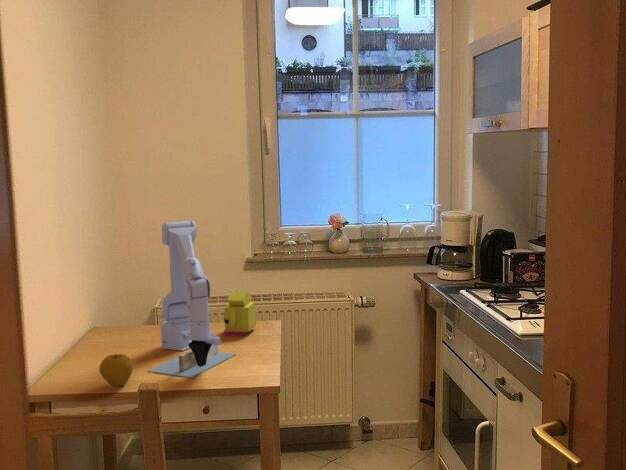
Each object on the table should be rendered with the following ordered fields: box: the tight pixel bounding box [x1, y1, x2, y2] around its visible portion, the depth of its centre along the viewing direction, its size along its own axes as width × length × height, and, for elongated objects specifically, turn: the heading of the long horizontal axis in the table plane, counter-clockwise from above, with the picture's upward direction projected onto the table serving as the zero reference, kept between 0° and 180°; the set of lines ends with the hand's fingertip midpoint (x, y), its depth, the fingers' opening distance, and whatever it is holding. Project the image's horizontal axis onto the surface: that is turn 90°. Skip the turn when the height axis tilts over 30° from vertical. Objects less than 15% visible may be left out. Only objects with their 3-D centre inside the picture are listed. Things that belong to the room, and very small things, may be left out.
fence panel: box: [177, 349, 197, 372], centre depth 192 cm, size 8×1×5 cm, turn 154°
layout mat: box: [147, 351, 237, 379], centre depth 198 cm, size 16×23×1 cm
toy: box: [223, 290, 257, 337], centre depth 230 cm, size 13×10×15 cm
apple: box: [98, 353, 134, 387], centre depth 180 cm, size 9×9×9 cm
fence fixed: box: [207, 344, 219, 357], centre depth 201 cm, size 1×10×5 cm, turn 154°
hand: (201, 365), depth 188 cm, fingers closed
